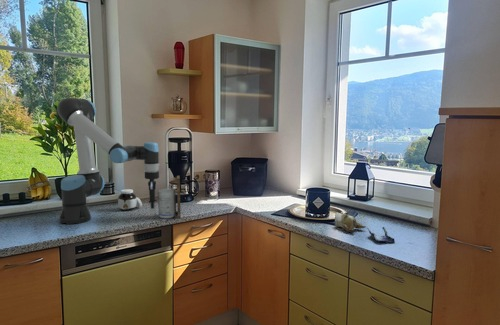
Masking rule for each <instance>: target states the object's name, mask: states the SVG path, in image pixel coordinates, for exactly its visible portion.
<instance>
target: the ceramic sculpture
mask: <svg viewBox="0 0 500 325" xmlns="http://www.w3.org/2000/svg"><path fill="white" fill-rule="evenodd" d="M334 225H335V227H336V228H343V229H344V230H346V231H347V232H354V231H355V230H354V229H358V230H359V229H366V228H367V226H365V225H362V224H361V223H360V222H358V221H357V220H356V217H355V216H353V215H351V214H350V213H349V212H344V213H340V212H337V211H336V212H335V215H334Z"/></svg>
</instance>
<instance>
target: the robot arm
mask: <svg viewBox="0 0 500 325" xmlns="http://www.w3.org/2000/svg"><path fill="white" fill-rule="evenodd" d="M56 109H57V110H56V111H57V114H58V116H59V117H60V119H62V120H63V121H64V122H65V124H67V125H69V126H70V127H71V126H72V127H73V129H74V130H73V131H74V138H75V146H76V154H77V163H78V171H77V172H76V174H74V175H73V174H72V175H68V176H65V177H64V178H62V179H61V181H60V190H61V192H60V193H61V206H62V208H61V212H60V215H59V223H60V222H61V223H60V224H62V223H66V224H65V225H74V223H77V224H81V223H86V222H89V221H90V220H91V219H92V215H91V212H90V210H89V207H88V205H87V204H88V203H87V198H88V197H91V196H94V195H98V194H99V193H101V192H102V190H104V187H105V183H106V182H105V179H104V177H103V176H102V175H101V174H100V170H99V169H98V168H97V166H96V157H95V150H94V144H95V145H97V146H98V147H99V148H100V149H102V150H103V151H104V152H105V153H107V155H109V158H110V160H111V162H113V163H115V164H123V163H126V162H130V161H131V162H132V161H135V160H136V161H137V160H138V161H140V160H141V161H144V162H143V163H144V164H143V166H144V170H143V171H144V179H145V180H148V182H147V186H148V192H149V201H148V203H149V214H150V215H155V214H156V202H157V200H156V187H157V186H156V185H157V181H155V180H157V179H159V178H160V171H159V169H160V167H161V165H160V162H159V160H160V158H159V156H160V155H159V152H160V149H159V144H158V143H157V142H153V141H152V142H144V144H143V145H124V146H123V145H122V144H120V143H119V142H118V141H117V140H115V139H114V138H113V137H112V136H110V135H109V134H108V133H107V132H106V131H104V130H103V129H102V128H101V127H100V126H98V125H97V124H96V123H94V118H95V116H96V115H97V108H96V106H95V104H94V103H93V102H92V101H91V100H89V99H86V98H75V97H74V98H73V97H65V98H63V99H61V100H60V101H59V102H58V105H57V108H56Z"/></svg>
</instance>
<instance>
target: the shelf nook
mask: <svg viewBox="0 0 500 325" xmlns="http://www.w3.org/2000/svg"><path fill="white" fill-rule="evenodd" d="M180 176H181V175H176V176H175V177H170V178H169V179H170V181H169V182H170V184H176V194H177V195H176V207H177V210H176V215H175V217H174V219H175V220H177V219H181V218H182V217H181V215H182V214H181V178H180Z"/></svg>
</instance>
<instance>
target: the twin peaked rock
mask: <svg viewBox="0 0 500 325" xmlns="http://www.w3.org/2000/svg"><path fill="white" fill-rule="evenodd" d="M381 227H382V226H381ZM366 229H367V230H368V232H369V234H370V236H371V237H372V238H373V239H374V240H375V241H376V243H378V242H380V243H381V242H383V243H385V244H391V243H395V238H393V237H391V236H389V235H388V232H387V231H386V230H387V229H386V228H385V226H383V227H382V228H381V229H382V231H383V232H384V235H378V234H376V233H374V232H372V231H374V229H373V230H372V231H371V230H370V229H369V228H368V227H366ZM377 237H378V238H377Z"/></svg>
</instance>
